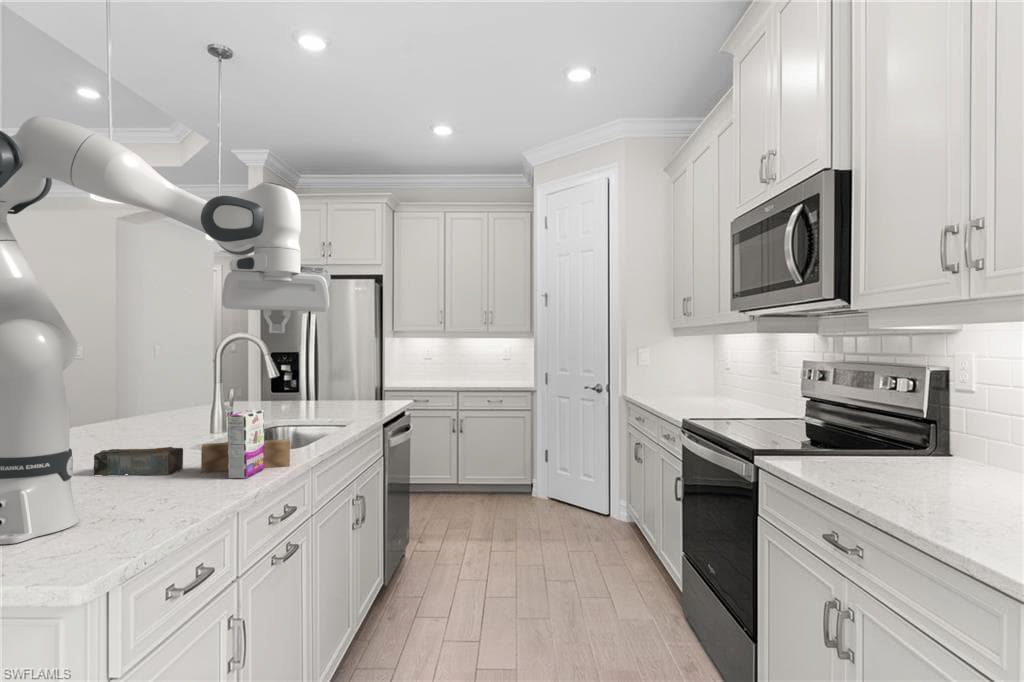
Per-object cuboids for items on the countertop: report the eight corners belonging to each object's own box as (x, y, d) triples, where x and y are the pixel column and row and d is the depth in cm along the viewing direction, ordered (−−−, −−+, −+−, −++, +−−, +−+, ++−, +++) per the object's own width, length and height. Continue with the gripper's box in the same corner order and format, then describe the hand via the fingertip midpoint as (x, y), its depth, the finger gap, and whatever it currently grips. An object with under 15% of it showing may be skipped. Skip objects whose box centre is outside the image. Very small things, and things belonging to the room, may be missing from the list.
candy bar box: (246, 469, 159) (247, 409, 159) (264, 469, 159) (265, 409, 159) (226, 479, 148) (226, 414, 148) (245, 479, 148) (246, 415, 148)
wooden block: (201, 472, 154) (201, 446, 154) (202, 469, 158) (202, 443, 158) (289, 466, 163) (289, 441, 163) (288, 463, 167) (289, 439, 167)
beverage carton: (110, 470, 157) (110, 446, 157) (184, 469, 159) (185, 445, 159) (92, 477, 149) (92, 451, 149) (170, 476, 151) (171, 451, 151)
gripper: (329, 269, 125) (328, 333, 125) (223, 263, 117) (222, 332, 117) (332, 266, 119) (331, 333, 119) (221, 259, 111) (220, 332, 111)
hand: (276, 333), depth 118 cm, fingers closed
